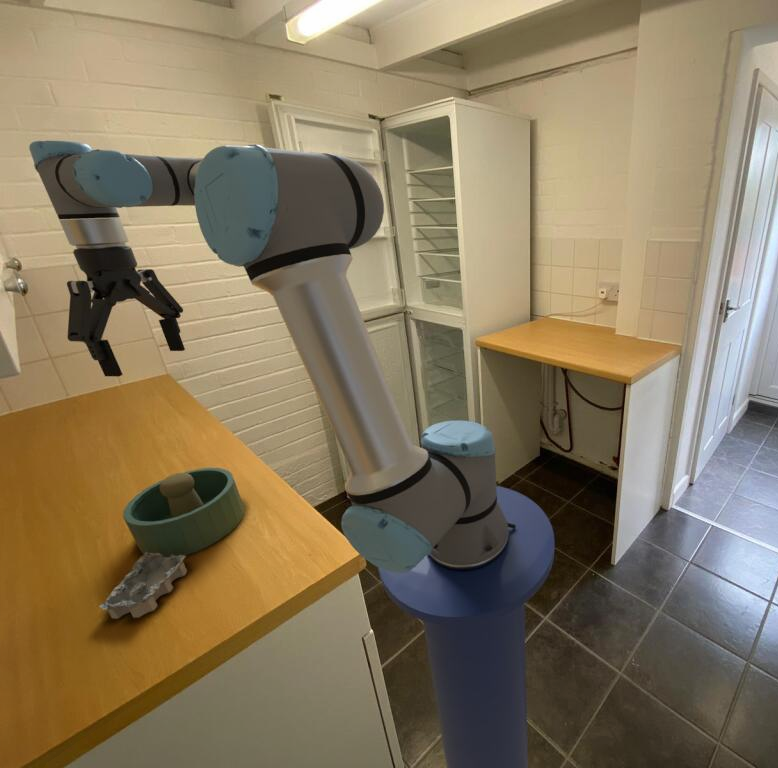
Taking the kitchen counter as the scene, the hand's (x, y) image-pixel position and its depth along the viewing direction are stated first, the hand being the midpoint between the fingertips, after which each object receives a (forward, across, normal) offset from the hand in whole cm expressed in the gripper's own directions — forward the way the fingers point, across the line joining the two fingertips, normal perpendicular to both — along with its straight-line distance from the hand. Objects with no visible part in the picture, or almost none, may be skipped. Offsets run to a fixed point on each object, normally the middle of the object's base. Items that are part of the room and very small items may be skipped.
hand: (148, 362), depth 80 cm
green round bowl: (+32, +9, +6) cm, 33 cm away
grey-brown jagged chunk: (+32, +24, +11) cm, 41 cm away
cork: (+31, +9, +6) cm, 33 cm away
